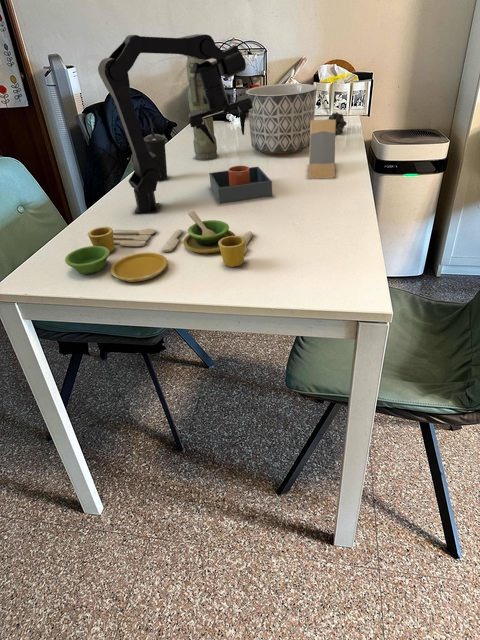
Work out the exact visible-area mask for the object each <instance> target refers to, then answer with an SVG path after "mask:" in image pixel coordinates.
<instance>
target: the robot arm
mask: <svg viewBox="0 0 480 640" xmlns="http://www.w3.org/2000/svg"><path fill="white" fill-rule="evenodd" d="M141 54H159V55H160V54H162V55H163V54H164V55H165V54H166V55H180V56H184V57H186V58H187V57H191V58H195V59H203V60H206V61H205V62H202V63H200V64H198V63H195V62H194V63H193V67H192V69H191V71H190V73H193V74H198V73H199V76H200V80H201V83H202V86H203V89H204V93H202V98H203V101H204V104H205V105H207V104H208V105H209V109H210V110H208V111H205V112H202V110H201V109H199V110H196V111H193V112H191V111H190V112H189V114H188V122H189V125H190V128H193V127H196V129H201V130H202V131H203V132H204V133H205V134H206V135H207V136H208V138H209V139H210V140H211V142H212V143H213V144H215V142H214V138H213V136H212V134H211V131H210V129H209V127H208V125H207V122H206V118H210V117H213V118H214V117H216V116H218V115H222V114H225V113H228V112H232V111H234V110H238V116H239V124H240V130H241V134H242V136H245V124H246V117H247V114H248V113H249V109H252V108H253V106H252V102H251V98H250V95H248V94H246V93H245V94H242V95H239V96H237V97H236V101H233V102H231V103H229V97H228V95H227V92H226V89H225V85H224V82H223V78H222V77H224V78H225V79H230V78H232V77H234V76H236V75H238V74H240V73H243V72H245V71H246V67H247V63H246V59H245V58H244V56H243V53H242V52H241V50H239V46H238V45H236V44H235V45H234V44H233V45H231V46H229V47H228V48H226V49H224V50H222V49H221V48H220V47H219V46H218V45H216V42H215V40H214V39H213V37H212V36H211V35H210V34H206V33H205V34H202V33H201V34H198V33H197V34H191V35H185V36H181V37H165V36H164V37H162V36H161V37H160V36H141V35H138V34H129V35H127V36H125V38H124V40H123V41H122V43H120V44H119V46H118V47H116V48H115V50H113V51H112V53H111V54H110V55H109V56H108V57H105V58H104V59H101V60H100V62H99V64H98V67H97V72H98V75H99V77H100V78H101V81H102V83H103V85H104V86H105V89H106V91H108V93H109V95H110V96H111V97H112V99H113V101H114V104H115V107H116V110H117V113H118V115H119V119H120V122H121V124H122V127H123V129H124V132H125V135H126V138H127V141H128V143H129V144H128V145H129V147H130V150H131V153H132V155H131V156H132V158H131V159H132V167H133V173H132V174H131V176H130V177H129V179H128V183H129V185H130V187H131V188H133V195H134V199H135V205H136V208H135V210H134V214H150V213H157V212H158V209H159V207H160V202H157V200H156V194H155V192H156V191H157V187H158V182H160V181H159V179H160V177H161V174H160V170H162V169H161V168H160V166H159V163H158V157H157V156H156V155H154V154H153V153H151V152H149V151H148V149H147V146H146V143H145V140H144V138H145V137H144V134H143V130H142V128H141V126H140V122H139V120H138V117H137V114H136V113H137V112H136V111H135V107H134V104H133V101H132V98H131V83H130V77H129V71H130V70H131V69H132V68H133V67H134V64H135V63H136V61H137V59H138V57H139V56H140V55H141ZM210 60H213V61H210Z"/></svg>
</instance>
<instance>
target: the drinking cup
mask: <svg viewBox="0 0 480 640" xmlns="http://www.w3.org/2000/svg"><path fill="white" fill-rule="evenodd" d="M148 119H149V126H150V131H151V134H148V135H147V136H145V137H144V140H145V143H146V146H147V149H148V151H149V152H151V153H153V154H154V155H156V156H157V157H158V163H159V166H160V168H161V169H162V170H160V174H161V177H160V179H159V181H158V182H163V181H166V180H168V170H167V169H168V167H167V153H166V136H164V135H161V134H158V133H155V131H154V125H153V120H152V117H149V118H148Z"/></svg>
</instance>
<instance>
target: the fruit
mask: <svg viewBox="0 0 480 640" xmlns="http://www.w3.org/2000/svg"><path fill="white" fill-rule="evenodd" d="M327 120H336V133H335V135H336V134H337V135H339V134H342V133H343V130H344V129H345V127H346V126H347V123H348V122H347V121H345V118H344V115H343V113H339V112H332V113H331V115H329V116H328V119H327Z"/></svg>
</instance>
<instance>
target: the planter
mask: <svg viewBox="0 0 480 640" xmlns="http://www.w3.org/2000/svg"><path fill="white" fill-rule="evenodd" d="M317 90H318V89H317V86H316V85H314V84H309V83H278V84H277V83H276V84H268V85H261V86H256V87H251V88H249V89H247V90H246V91H245V95H246V94H248V95H250V98H251V102H252V106H253V108H252V109H249V113H247V114H248V123H249V133H250V141H251V143H250V144H251V147H252V149H254V150H256V151H258V152H262V153H263V154H265V155H268V156H274V157H275V156H279V157H280V156H281V157H282V156H290V155H295V154H298V153H300V152H301V151H302V150H305V149H308V148H310V124H311V120H315V114H316V113H315V112H316V101H317Z"/></svg>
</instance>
